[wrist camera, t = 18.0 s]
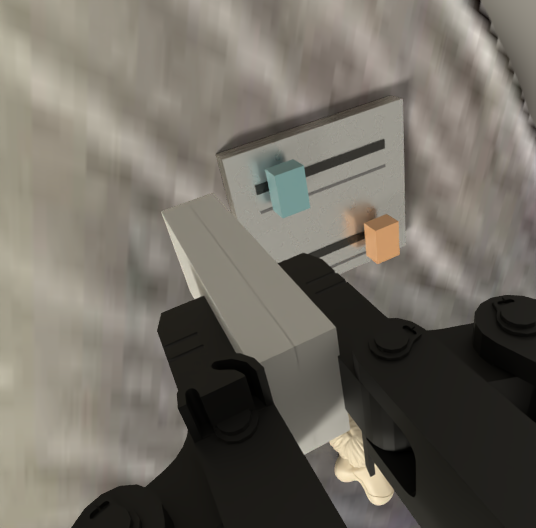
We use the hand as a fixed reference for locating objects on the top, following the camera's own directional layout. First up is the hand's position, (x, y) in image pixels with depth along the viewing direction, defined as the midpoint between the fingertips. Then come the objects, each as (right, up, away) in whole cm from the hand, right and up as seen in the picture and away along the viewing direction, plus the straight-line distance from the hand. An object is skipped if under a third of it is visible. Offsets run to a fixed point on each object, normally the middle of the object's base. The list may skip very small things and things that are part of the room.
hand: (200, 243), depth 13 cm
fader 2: (+14, +3, +39) cm, 42 cm away
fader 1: (+3, +7, +31) cm, 32 cm away
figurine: (+16, -28, +62) cm, 70 cm away
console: (+8, +6, +37) cm, 38 cm away
